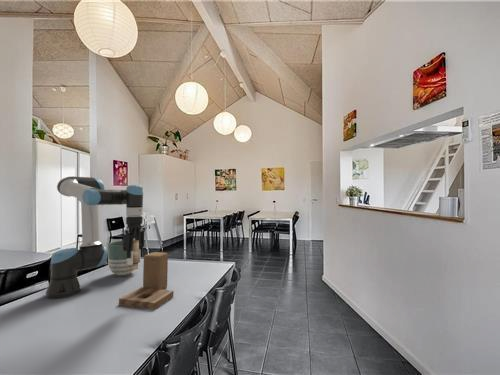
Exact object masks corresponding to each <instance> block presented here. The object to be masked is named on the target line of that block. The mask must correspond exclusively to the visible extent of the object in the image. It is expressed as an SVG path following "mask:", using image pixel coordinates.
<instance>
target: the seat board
mask: <svg viewBox="0 0 500 375" xmlns="http://www.w3.org/2000/svg"><path fill="white" fill-rule="evenodd" d="M172 298H174V290H168V289H163V290H161V289H152V288H143V286H141V287H139V288H137V289H135V290H133V291H131V292H129V293H127V294H125V295H123V296H121V297H119V298H118V305H120V306H125V305H126V306H127V307H132V306H134V307H133V308H139V307H141V309H146V310H147V309H148V310H156V309H158V308H159V307H160V306H162V305H163V304H165V303H166V302H168V301H169V300H171V299H172ZM167 300H168V301H167ZM164 302H165V303H164ZM161 304H162V305H161ZM126 306H125V307H126Z"/></svg>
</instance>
